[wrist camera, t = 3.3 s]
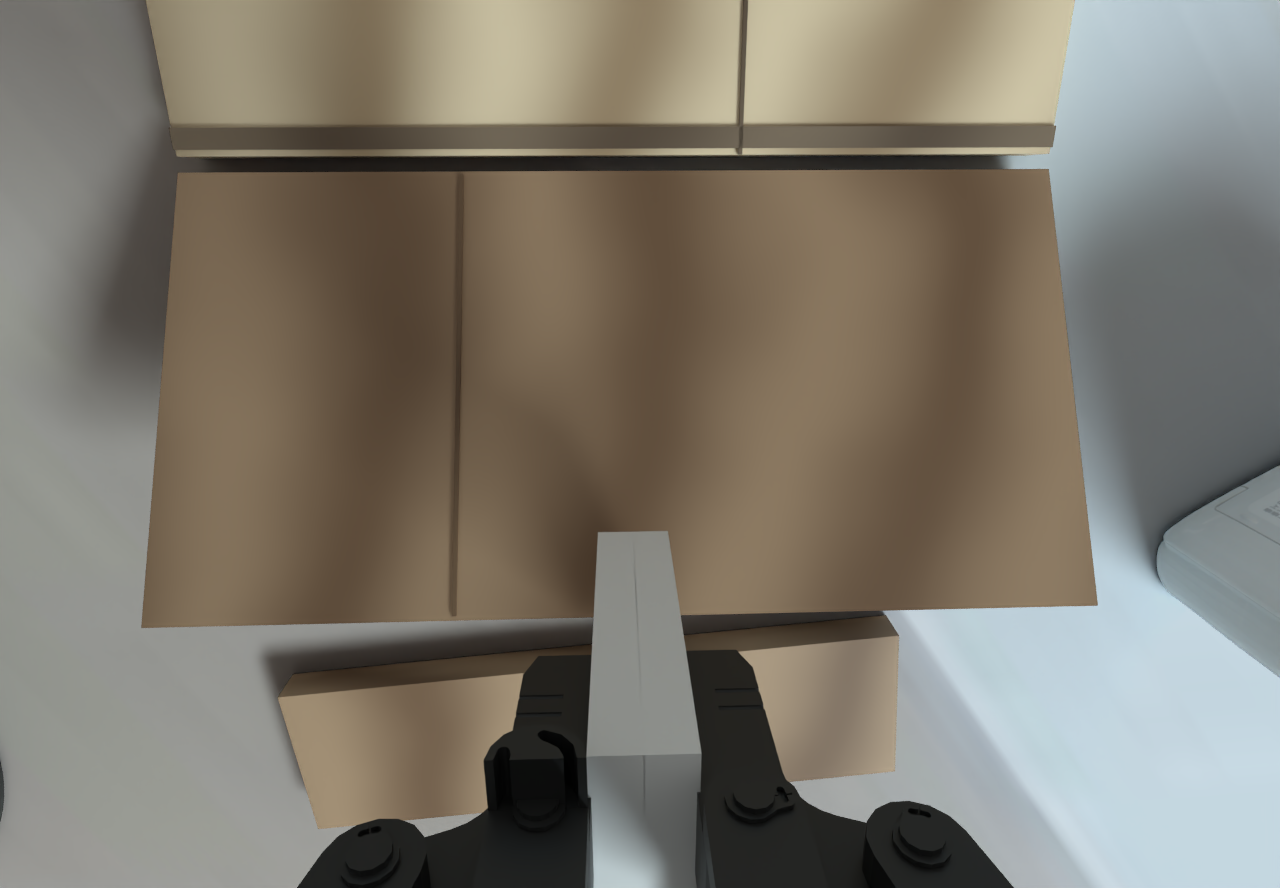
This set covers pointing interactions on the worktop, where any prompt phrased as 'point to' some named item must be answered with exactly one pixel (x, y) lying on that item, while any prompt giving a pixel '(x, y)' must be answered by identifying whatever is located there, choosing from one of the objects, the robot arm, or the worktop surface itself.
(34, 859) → the worktop surface
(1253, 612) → the photo printer
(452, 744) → the plank
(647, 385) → the plank
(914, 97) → the light wood flat board
